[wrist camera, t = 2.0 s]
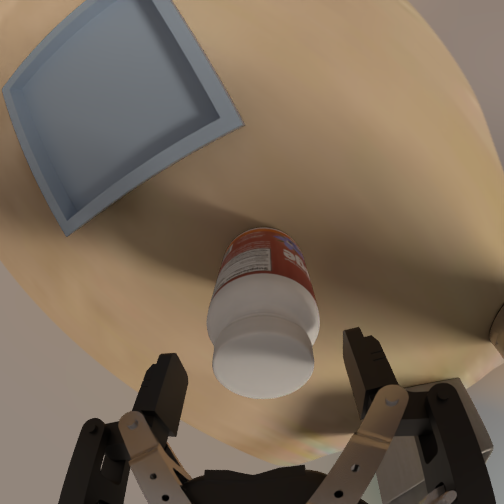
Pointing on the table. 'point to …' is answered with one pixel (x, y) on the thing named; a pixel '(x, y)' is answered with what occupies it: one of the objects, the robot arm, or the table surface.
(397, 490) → the planter
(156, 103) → the tray
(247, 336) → the pill bottle
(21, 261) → the table surface
